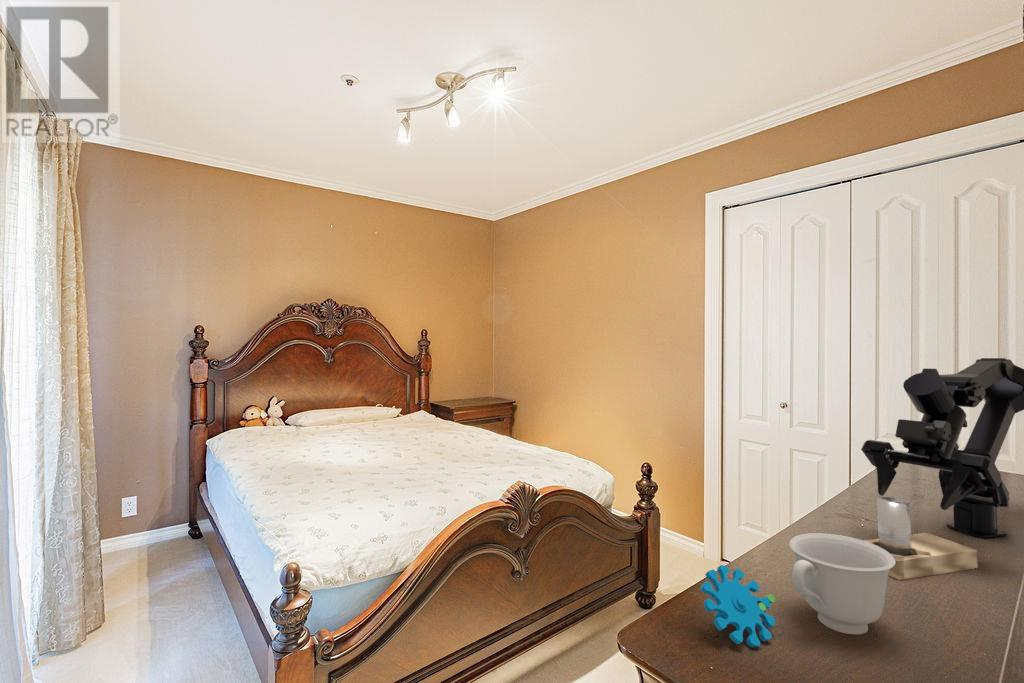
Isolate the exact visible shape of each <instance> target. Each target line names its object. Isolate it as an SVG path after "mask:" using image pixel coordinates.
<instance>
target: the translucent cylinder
mask: <svg viewBox="0 0 1024 683" xmlns="http://www.w3.org/2000/svg"><path fill="white" fill-rule="evenodd" d="M876 508H877V532H878V533H877V535H878V537H877V539H879V547H881V548H883V549H884V550H886V551H887V552H889V553H890V554H895V555H901V556H903V557H904V556H911V555H912V545H911V534H912V524H911V502H909V501H908V500H905V499H902V498H896V497H890V496H879V497H877V498H876Z"/></svg>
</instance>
